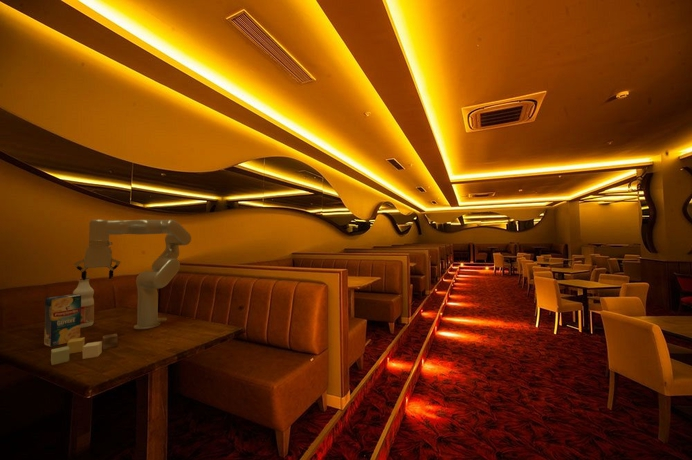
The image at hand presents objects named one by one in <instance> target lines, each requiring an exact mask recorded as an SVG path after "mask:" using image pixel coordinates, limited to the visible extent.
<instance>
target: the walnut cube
mask: <svg viewBox="0 0 692 460" xmlns="http://www.w3.org/2000/svg"><path fill="white" fill-rule="evenodd" d="M118 343H119V342H118V334H117V333H113V334H112V333H111V334H106V335H103V336H102V350H107V349H113V348H116V347H118Z"/></svg>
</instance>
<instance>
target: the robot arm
mask: <svg viewBox="0 0 692 460" xmlns="http://www.w3.org/2000/svg"><path fill="white" fill-rule="evenodd" d="M163 234H166V235H165V238H164V242H165V248H164V251H163V252H162V253H161V254H160V255H159V256H158V257H157V258H156V259H155V260H154V261H153V263H152V265H151V270H147V271H142V272H140V273H139V274H138V275H137V276H136V278H135V279H136V280H135V283H136V288H137V319H136V320H137V322H136V323H137V324H135V325H133V329H135V330H149V329H153V328H157V327H159V326H161V322H167V319H168V318H167V317H159V315H158V313H159V311H158V310H159V308H158V307H159V293H158V289H163V288H164V287H166V286H167V285H168V284H169V283H170V282H171V280H173V278H174V277H175V276H176V275H177V273H178V272H179V271H180V268H181V261H179V260H178V257H179V256H180V248H179V246H189V244H190V243H191V242H192V236H191V234H190V232H189V231H187V230H186V229H185V228H184V226H183V225H181V224H180V223H179V222H178V221H177V220H174V219H134V220H133V219H131V220H122V219H119V220H118V219H114V220H113V219H112V220H108V219H98V218H97V219H90V221H89V225H88V246H87V247H86V248H85V253H84V258H83V259H81V260H77V261H76V262H74V263H73V264H74V266H75V267H76V269H77V270H79V272H81V275H80V276H81V277H80V278H83V280H86V277H87V269H91V268H94V269H95V268H108V269H109V271H108V280H111V279H112V278H113V277H114V270H115V269H117V268H118V267H119V266H120V264H121V261H120V260H117V259H115V258H113V253H112V252H113V251H112V247H110V245H113V243H114V242H113V241H110V240H109V239H110V235H111V236H112V235H115V236H116V235H117V236H119V235H138V236H139V235H163ZM113 263H115V265H114V266H113ZM80 264H83V267H82V266H81V265H80Z"/></svg>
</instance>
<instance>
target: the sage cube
mask: <svg viewBox="0 0 692 460" xmlns="http://www.w3.org/2000/svg"><path fill="white" fill-rule="evenodd" d="M69 352H70V349H69V347H68V346H67V345H66V346H62V347H58V348H52V349H51V350H50V363H51V366H54V365H57V364H58V365H59V364H62V363H66V362H70V354H69Z"/></svg>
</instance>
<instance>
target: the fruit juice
mask: <svg viewBox="0 0 692 460" xmlns="http://www.w3.org/2000/svg"><path fill="white" fill-rule="evenodd" d="M90 278H91V277H89V276H86V280H83V278H81V277H78V278H77V281H78V284H77V286H76V288H75V289H73V291H72V294H76V295H81V327H80V329H83V328H87V327H92V326H93V325H94V323H95V322H94V321H95V299H94V293H95V289H93V288H94V287H92V286H91V285H90Z"/></svg>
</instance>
